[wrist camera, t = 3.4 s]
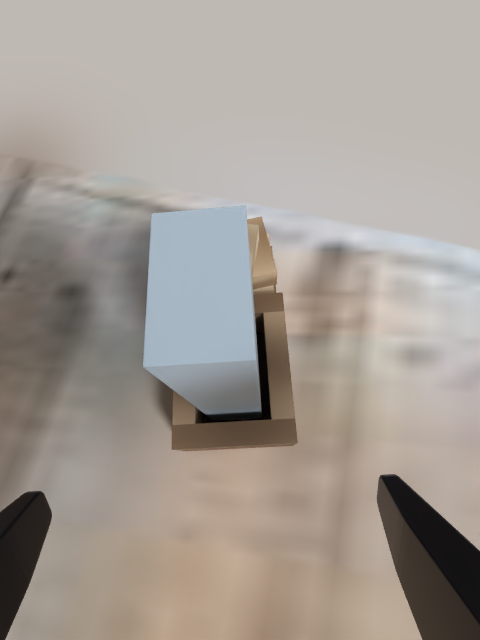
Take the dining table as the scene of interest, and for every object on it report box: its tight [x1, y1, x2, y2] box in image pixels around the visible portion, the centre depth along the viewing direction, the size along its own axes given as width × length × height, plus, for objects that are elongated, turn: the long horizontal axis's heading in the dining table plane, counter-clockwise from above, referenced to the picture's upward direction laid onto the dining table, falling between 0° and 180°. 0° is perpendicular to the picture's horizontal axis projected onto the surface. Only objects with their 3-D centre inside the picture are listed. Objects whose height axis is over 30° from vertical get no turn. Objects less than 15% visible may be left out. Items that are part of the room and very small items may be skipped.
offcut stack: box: [247, 217, 277, 295], centre depth 22 cm, size 5×6×5 cm
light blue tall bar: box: [143, 206, 262, 420], centre depth 17 cm, size 5×3×14 cm, turn 3°
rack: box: [172, 246, 297, 451], centre depth 22 cm, size 13×6×4 cm, turn 3°
